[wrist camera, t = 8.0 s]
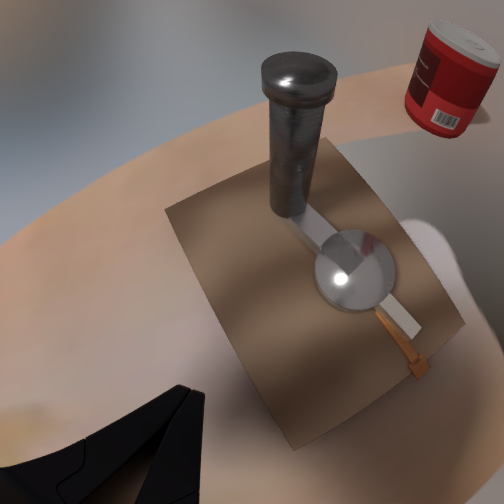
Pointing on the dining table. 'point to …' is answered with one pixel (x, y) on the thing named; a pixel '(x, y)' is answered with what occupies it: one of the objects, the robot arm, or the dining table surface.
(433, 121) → the canned food
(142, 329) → the dining table surface
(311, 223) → the crank handle
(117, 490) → the robot arm
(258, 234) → the stand
